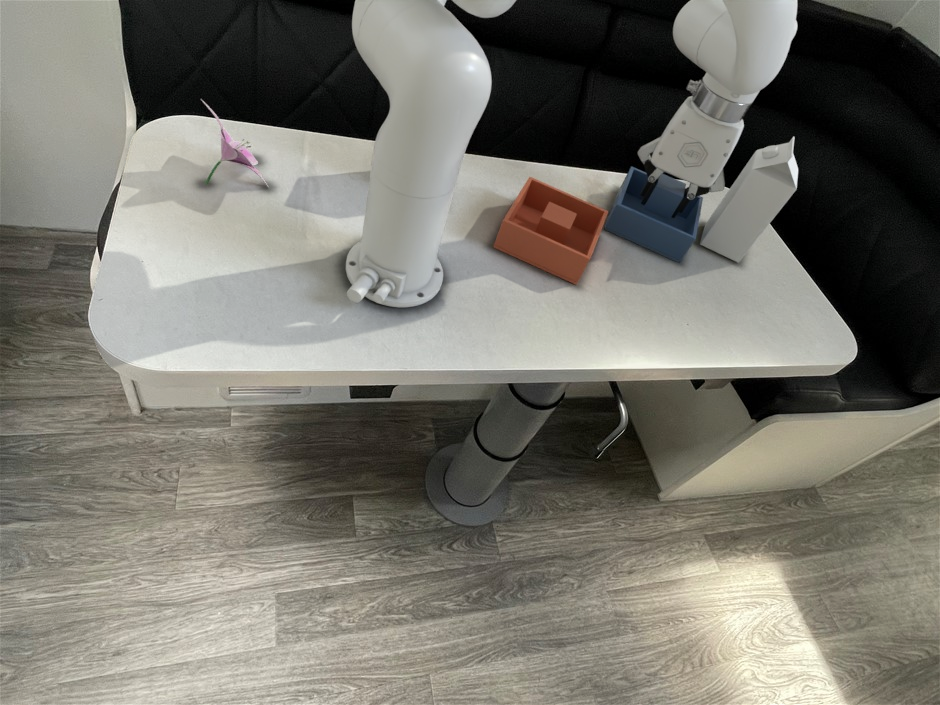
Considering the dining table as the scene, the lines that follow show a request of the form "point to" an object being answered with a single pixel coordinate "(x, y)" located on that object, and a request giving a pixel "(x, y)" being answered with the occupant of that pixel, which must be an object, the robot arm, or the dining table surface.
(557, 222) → the terracotta block
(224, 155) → the lily
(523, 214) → the terracotta bin
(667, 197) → the slate block
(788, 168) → the milk carton
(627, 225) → the slate bin
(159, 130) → the dining table surface
